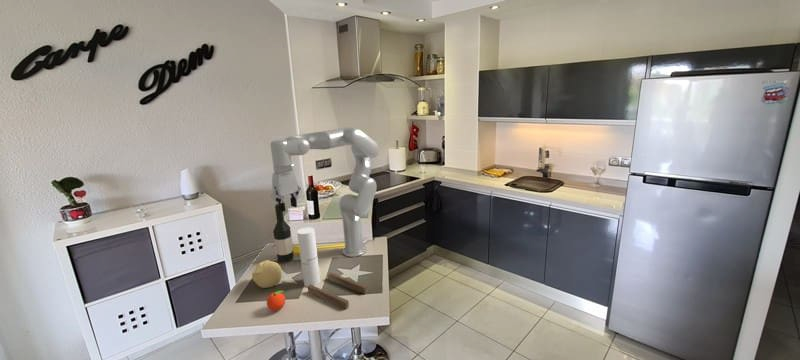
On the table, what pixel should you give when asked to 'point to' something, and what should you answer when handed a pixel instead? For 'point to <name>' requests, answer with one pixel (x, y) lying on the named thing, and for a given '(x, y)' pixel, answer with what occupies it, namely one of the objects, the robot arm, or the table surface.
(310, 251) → the cylindrical container
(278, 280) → the pale yellow lumpy blob
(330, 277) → the cradle rails
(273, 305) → the clementine
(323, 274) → the table surface
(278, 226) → the wine bottle
